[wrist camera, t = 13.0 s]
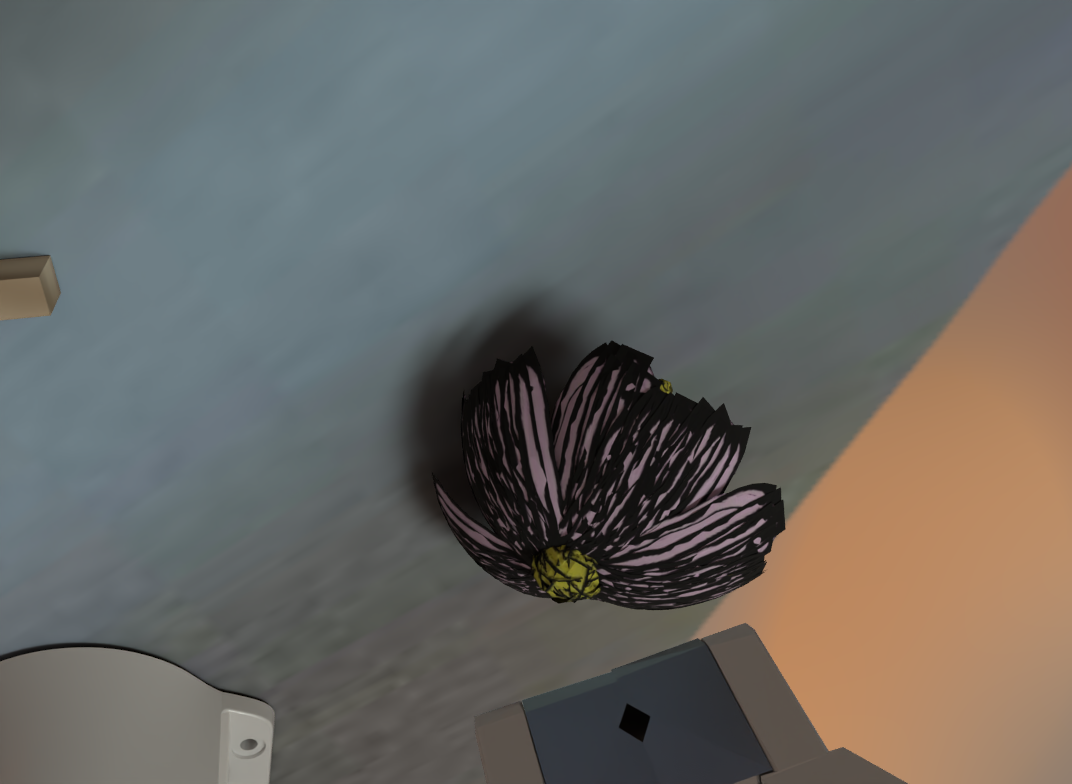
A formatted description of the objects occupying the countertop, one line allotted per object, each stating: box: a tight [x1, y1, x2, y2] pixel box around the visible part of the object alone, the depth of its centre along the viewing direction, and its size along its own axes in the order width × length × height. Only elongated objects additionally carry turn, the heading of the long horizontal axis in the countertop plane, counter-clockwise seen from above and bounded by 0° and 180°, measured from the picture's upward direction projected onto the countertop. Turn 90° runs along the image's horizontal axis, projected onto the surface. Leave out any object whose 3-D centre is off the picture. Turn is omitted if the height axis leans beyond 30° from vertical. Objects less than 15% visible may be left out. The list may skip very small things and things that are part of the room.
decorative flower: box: [432, 341, 785, 610], centre depth 40 cm, size 15×12×15 cm
